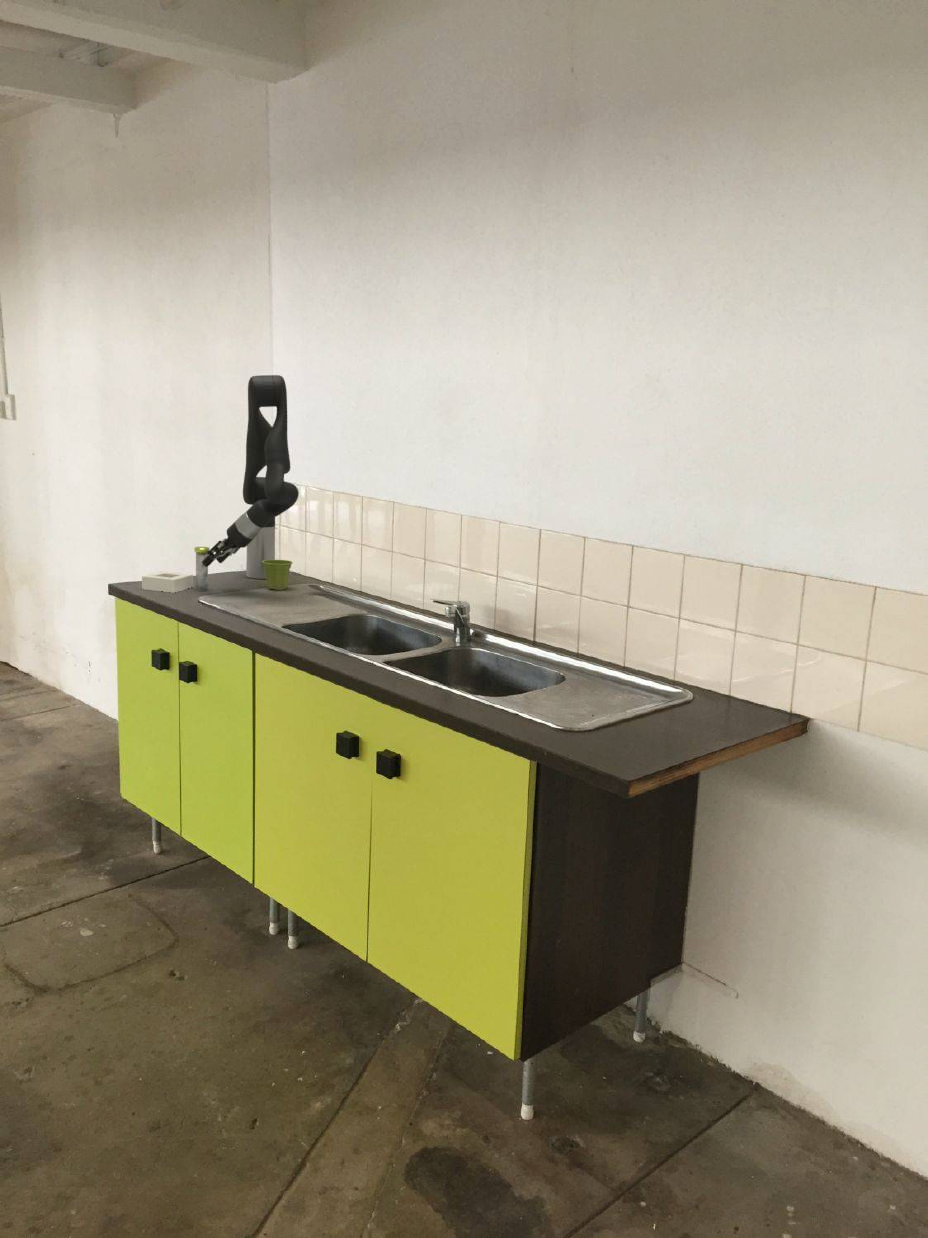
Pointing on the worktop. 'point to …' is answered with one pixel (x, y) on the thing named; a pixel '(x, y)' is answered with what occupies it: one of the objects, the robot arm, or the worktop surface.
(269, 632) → the worktop surface
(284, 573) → the plant pot
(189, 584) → the white square base
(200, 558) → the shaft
